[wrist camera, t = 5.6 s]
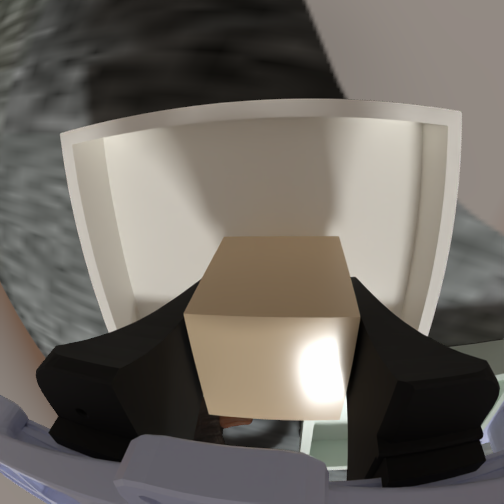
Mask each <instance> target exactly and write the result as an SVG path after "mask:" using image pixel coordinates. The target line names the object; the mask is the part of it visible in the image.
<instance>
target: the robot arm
mask: <svg viewBox="0 0 504 504" xmlns="http://www.w3.org/2000/svg"><path fill="white" fill-rule="evenodd" d="M200 281H201V279H200V280H199V281H198V282H196V283H195V284H194V285H192V286H191V287H189V288H188V289H187V290H185V291H184V292H183V293H181V294H180V295H179V296H177V297H176V298H174V299H173V300H171V301H170V302H168V303H167V304H165V305H164V306H162V307H161V308H159V309H158V310H156V311H154V312H153V313H151V314H149V315H147V316H146V317H144V318H142V319H140V320H138V321H136V322H134V323H132V324H129V325H127V326H125V327H122V328H120V329H117V330H115V331H112V332H110V333H107V334H104V335H101V336H98V337H94V338H91V339H87V340H83V341H79V342H74V343H69V344H64V345H58V346H56V347H55V348H54V349H53V350H52V351H51V353H50V354H49V355H48V356H47V357H46V359H45V360H44V361H43V363H42V364H41V365H40V366H39V368H38V369H37V370H36V378H37V382H38V385H39V387H40V389H41V391H42V393H43V394H44V396H45V397H46V399H47V400H48V402H49V403H50V405H51V406H52V407H53V409H54V410H55V412H56V413H57V415H58V418H57V420H56V421H55V423H54V424H53V426H52V427H51V429H49V428H47V427H45V426H42V425H40V424H38V423H36V422H34V421H32V420H29V419H28V417H27V415H26V414H25V412H24V411H23V410H22V409H21V407H19V406H18V405H17V404H16V403H14V402H13V401H11V400H9V399H7V398H5V397H3V396H1V395H0V472H1V473H2V474H3V475H4V476H5V477H7V478H8V479H10V480H11V481H13V482H14V483H15V484H17V485H18V486H20V487H22V488H23V489H25V490H26V491H28V492H29V493H31V494H32V495H34V496H36V497H37V498H39V499H40V500H42V501H44V502H45V503H47V504H504V401H503V403H502V404H501V406H500V407H499V409H498V410H497V412H496V413H495V415H494V416H493V417H492V419H491V420H490V422H489V423H488V425H487V426H486V427H485V429H484V430H483V431H482V428H481V424H482V423H483V421H484V420H485V418H486V417H487V415H488V414H489V412H490V411H491V409H492V408H493V406H494V405H495V403H496V401H497V399H498V396H499V392H500V386H499V382H498V380H497V378H496V376H495V374H494V372H493V371H492V369H491V367H490V365H489V363H488V362H487V360H484V359H480V358H477V357H474V356H471V355H468V354H465V353H462V352H459V351H457V350H454V349H452V348H449V347H447V346H445V345H443V344H441V343H439V342H437V341H435V340H433V339H431V338H429V337H427V336H426V335H424V334H422V333H420V332H419V331H417V330H416V329H414V328H413V327H411V326H410V325H408V324H407V323H405V322H404V321H403V320H401V319H400V318H399V317H397V316H396V315H395V314H394V313H393V312H391V311H390V310H389V309H388V308H387V307H386V306H384V305H383V304H382V303H381V302H380V301H379V300H378V299H377V298H376V297H375V296H374V295H373V294H372V293H371V292H370V291H369V290H368V289H367V288H366V287H365V286H364V285H363V284H362V283H361V282H360V281H359V280H358V279H357V278H356V277H351V281H352V285H353V289H354V293H355V297H356V301H357V305H358V309H359V313H360V323H359V330H358V335H357V341H356V347H355V352H354V357H353V363H352V368H351V372H350V377H349V382H348V387H347V391H346V399H347V423H348V459H347V481H331V482H329V472H328V470H327V467H326V464H325V463H324V462H322V461H321V460H319V459H316V458H314V457H312V456H310V455H308V454H306V453H303V452H295V451H288V450H282V449H267V448H252V447H240V446H230V445H222V444H214V443H206V442H199V441H193V439H194V434H195V429H196V424H197V419H198V415H199V410H200V406H201V402H202V398H203V391H202V387H201V384H200V380H199V376H198V372H197V368H196V364H195V361H194V357H193V352H192V348H191V344H190V340H189V336H188V332H187V327H186V323H185V318H184V314H183V313H184V311H185V310H186V308H187V306H188V304H189V302H190V300H191V298H192V296H193V294H194V292H195V290H196V288H197V286H198V285H199V283H200ZM487 442H490V445H491V448H492V451H493V454H489V455H486V456H485V455H484V452H483V449H482V446H481V444H484V443H487Z"/></svg>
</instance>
